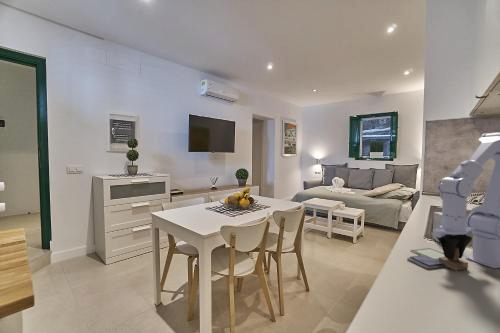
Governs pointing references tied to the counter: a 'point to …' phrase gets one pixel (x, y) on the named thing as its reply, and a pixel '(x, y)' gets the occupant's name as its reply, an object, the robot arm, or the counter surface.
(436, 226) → the skincare box
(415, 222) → the counter surface
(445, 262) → the stamp
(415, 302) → the counter surface
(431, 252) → the pale green flat square
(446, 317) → the counter surface
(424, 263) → the ink pad
